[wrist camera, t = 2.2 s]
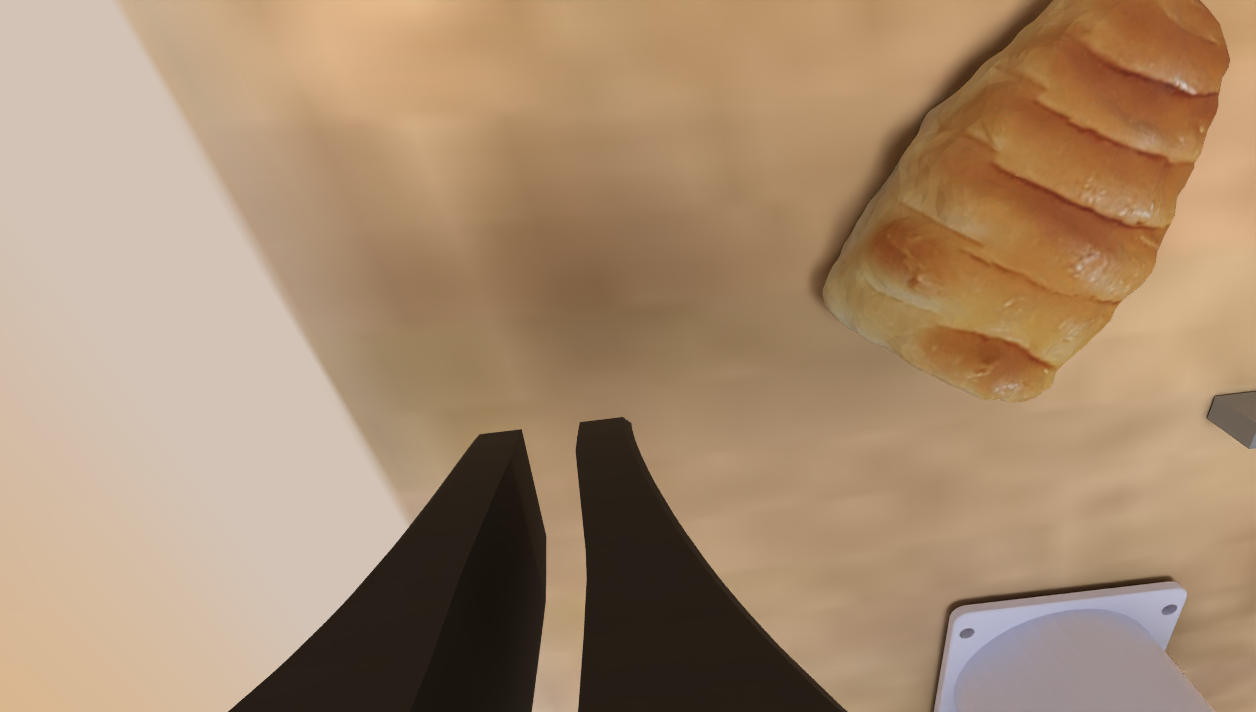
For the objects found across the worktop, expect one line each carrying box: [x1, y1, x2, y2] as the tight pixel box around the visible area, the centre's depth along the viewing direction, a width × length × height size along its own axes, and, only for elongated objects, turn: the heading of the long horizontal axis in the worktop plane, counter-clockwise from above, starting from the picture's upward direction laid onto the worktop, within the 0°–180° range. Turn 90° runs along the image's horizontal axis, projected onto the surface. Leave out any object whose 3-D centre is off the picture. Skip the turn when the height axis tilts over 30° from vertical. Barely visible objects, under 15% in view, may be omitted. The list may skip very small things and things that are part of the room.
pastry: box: [823, 0, 1230, 402], centre depth 15 cm, size 9×7×4 cm
